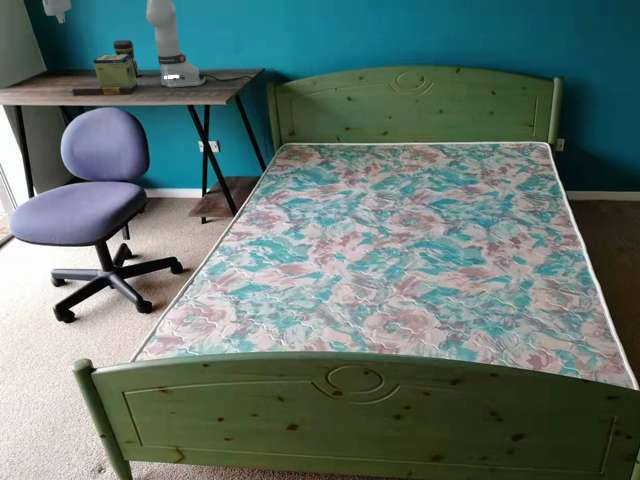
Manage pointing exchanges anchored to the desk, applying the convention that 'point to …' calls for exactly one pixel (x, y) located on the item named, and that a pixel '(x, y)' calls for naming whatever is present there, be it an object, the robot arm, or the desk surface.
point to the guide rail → (102, 91)
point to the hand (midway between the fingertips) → (62, 22)
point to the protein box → (115, 71)
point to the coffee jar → (126, 52)
